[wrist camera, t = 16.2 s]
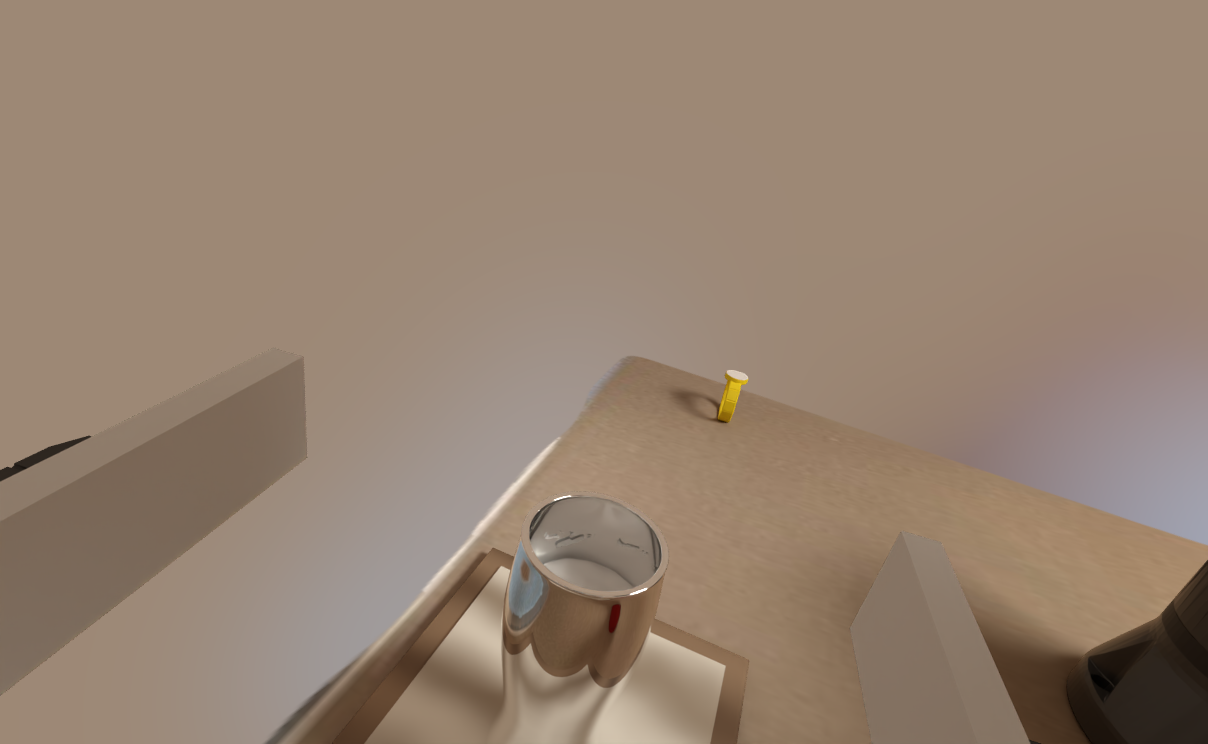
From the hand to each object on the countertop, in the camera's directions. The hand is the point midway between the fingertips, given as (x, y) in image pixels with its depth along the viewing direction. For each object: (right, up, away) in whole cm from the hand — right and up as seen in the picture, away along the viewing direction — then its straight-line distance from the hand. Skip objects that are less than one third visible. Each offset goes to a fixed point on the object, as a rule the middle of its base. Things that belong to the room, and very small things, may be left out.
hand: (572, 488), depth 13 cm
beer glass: (-3, -18, +19) cm, 27 cm away
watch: (+16, -3, +62) cm, 64 cm away
